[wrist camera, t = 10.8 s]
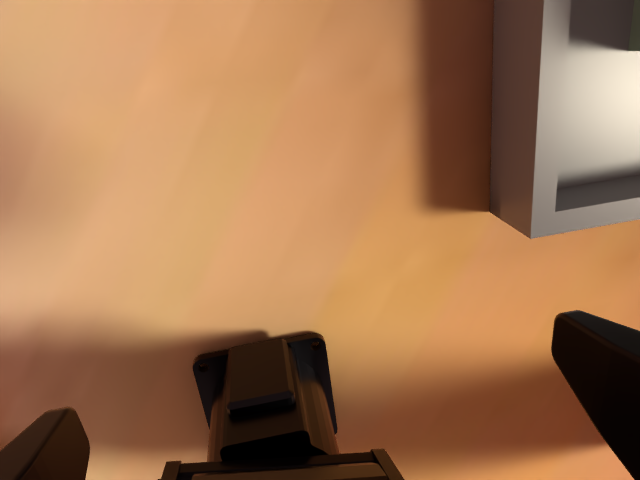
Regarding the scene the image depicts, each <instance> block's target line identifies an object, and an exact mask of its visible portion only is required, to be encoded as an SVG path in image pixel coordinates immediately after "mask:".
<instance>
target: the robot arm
mask: <svg viewBox="0 0 640 480" xmlns="http://www.w3.org/2000/svg"><path fill="white" fill-rule="evenodd" d="M314 342H319V344H318V345H316V346H312V345H311V344H312V343H314ZM551 350H552V356H553V358H554V361H555V363H556V364H557V366H558V367H559V369H560V371H561V372H562V374H563V376H564V377H565V379H566V380H567V382H568V384H569V385H570V387H571V389H572V390H573V392H574V394H575V395H576V397H577V398H578V400H579V402H580V403H581V405H582V407H583V408H584V410H585V411H586V413H587V415H588V416H589V418H590V420H591V421H592V423H593V424H594V426H595V427H596V429H597V430H598V432H599V433H600V434H601V436H602V437H603V439H604V440H605V441H606V443H607V444H608V445H609V447H610V448H611V449H612V451H613V452H614V453H615V455H616V456H617V457H618V459H619V460H620V461H621V462H622V464H623V465H624V466H625V468H626V469H627V470H628V472H629V473H630V474H631V476H632V477H633V478H634V480H640V331H638V330H635V329H632V328H630V327H627V326H624V325H621V324H618V323H615V322H612V321H609V320H606V319H603V318H600V317H598V316H595V315H592V314H589V313H586V312H583V311H580V310H574V311H569V312H564V313H560V314H558V315H557V316H556V317H555V320H554V328H553V337H552V346H551ZM202 363H204V364H207V365H208V366H207V367H201V366H200V364H202ZM193 372H194V375H195V379H196V382H197V386H198V390H199V393H200V397H201V400H202V404H203V408H204V411H205V415H206V419H207V422H208V426H209V429H210V433H209V445H208V457H207V462H200V463H184V464H181V461H169V462H166V465H165V468H164V471H163V475H162V478H161V479H158V480H404V478H403V477H402V475H401V474H400V472H399V471H398V469H397V468H396V466H395V465H394V463H393V462H392V460H391V459H390V457H389V455H388V454H387V452H386V451H385V449H371V451H370V452H365V453H349V454H339V450H338V446H337V442H336V438H335V434H336V433H337V423H336V416H335V409H334V402H333V394H332V387H331V380H330V373H329V366H328V358H327V351H326V344H325V341H324V338H323V336H322V335H321V334H318V333H312V334H307V335H302V336H296V337H291V338H286V339H281V338H279V339H274V340H269V341H263V342H258V343H253V344H247V345H242V346H237V347H233V348H231V349H228V350H223V351H217V352H212V353H207V354H202V355H199V356H197V357H196V358H195V360H194V363H193ZM89 454H90V446H89V440H88V438H87V435H86V433H85V431H84V429H83V426H82V424H81V422H80V419H79V417H78V415H77V413H76V411H75V410H74V409H73V408H71V407H65V408H59V409H54V410H50V411H47V412H45V413H44V414H43V415H41V416H40V417H39V418H38V419H37V420H36V421H34V422H33V423H32V424H31V425H30V426H29V427H27V428H26V429H25V430H24V431H23V432H22V433H20V434H19V435H18V436H17V437H16V438H15V439H14V440H12V441H11V442H10V443H9V444H8V445H7V446H5V447H4V448H3V449H2V450H1V451H0V480H85V478H86V472H87V466H88V460H89Z"/></svg>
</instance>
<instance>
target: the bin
mask: <svg viewBox="0 0 640 480" xmlns="http://www.w3.org/2000/svg"><path fill="white" fill-rule="evenodd" d="M633 8H634V0H494V27H493V76H492V125H491V175H490V213H492V214H494V215H495V216H497V217H498V218H500V219H501V220H503V221H504V222H506V223H507V224H509V225H510V226H512V227H513V228H515V229H516V230H518V231H519V232H521V233H523V234H524V235H526V236H527V237H529V238H530V239H532V238H537V237H543V236H549V235H554V234H560V233H565V232H571V231H577V230H582V229H588V228H593V227H599V226H605V225H610V224H616V223H621V222H627V221H633V220H638V219H640V51H628V47H629V39H630V31H631V23H632V16H633Z"/></svg>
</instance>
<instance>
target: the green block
mask: <svg viewBox="0 0 640 480" xmlns="http://www.w3.org/2000/svg"><path fill="white" fill-rule="evenodd" d="M628 51H640V0H634V8H633V16H632V23H631V31H630V39H629V47H628Z"/></svg>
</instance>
